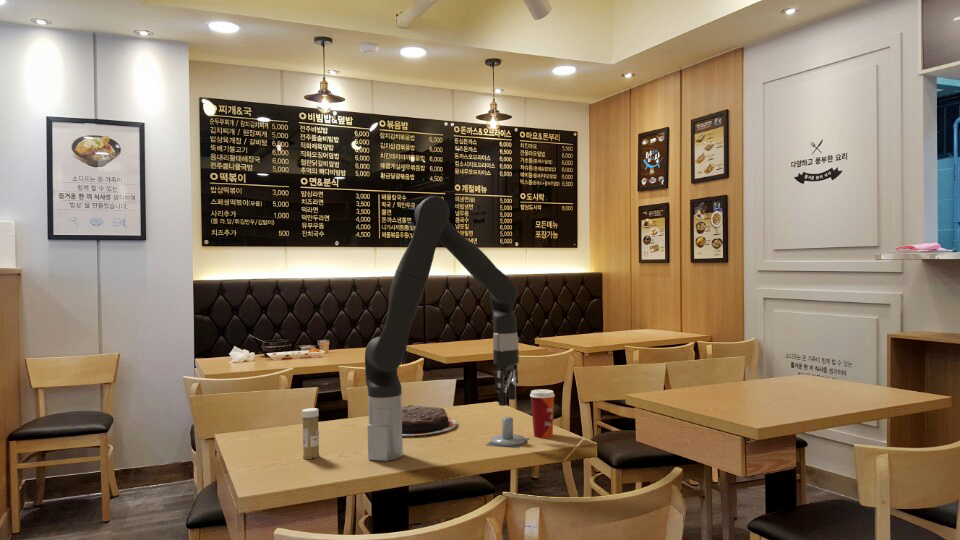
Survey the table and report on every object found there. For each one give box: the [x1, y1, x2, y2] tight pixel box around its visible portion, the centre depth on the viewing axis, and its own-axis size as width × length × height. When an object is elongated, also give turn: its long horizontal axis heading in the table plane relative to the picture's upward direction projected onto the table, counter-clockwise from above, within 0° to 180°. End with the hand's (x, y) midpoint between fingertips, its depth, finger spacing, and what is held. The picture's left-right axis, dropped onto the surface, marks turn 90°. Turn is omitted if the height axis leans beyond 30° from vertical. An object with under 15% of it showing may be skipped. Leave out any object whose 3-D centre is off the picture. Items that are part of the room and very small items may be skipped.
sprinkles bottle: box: [301, 407, 320, 460], centre depth 178 cm, size 5×5×13 cm
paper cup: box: [529, 388, 556, 439], centre depth 195 cm, size 8×8×14 cm
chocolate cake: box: [402, 404, 458, 439], centre depth 211 cm, size 28×28×7 cm
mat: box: [485, 437, 530, 449], centre depth 188 cm, size 11×10×1 cm
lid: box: [490, 416, 526, 447], centre depth 188 cm, size 10×10×7 cm
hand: (507, 402), depth 189 cm, fingers open, 8 cm apart
